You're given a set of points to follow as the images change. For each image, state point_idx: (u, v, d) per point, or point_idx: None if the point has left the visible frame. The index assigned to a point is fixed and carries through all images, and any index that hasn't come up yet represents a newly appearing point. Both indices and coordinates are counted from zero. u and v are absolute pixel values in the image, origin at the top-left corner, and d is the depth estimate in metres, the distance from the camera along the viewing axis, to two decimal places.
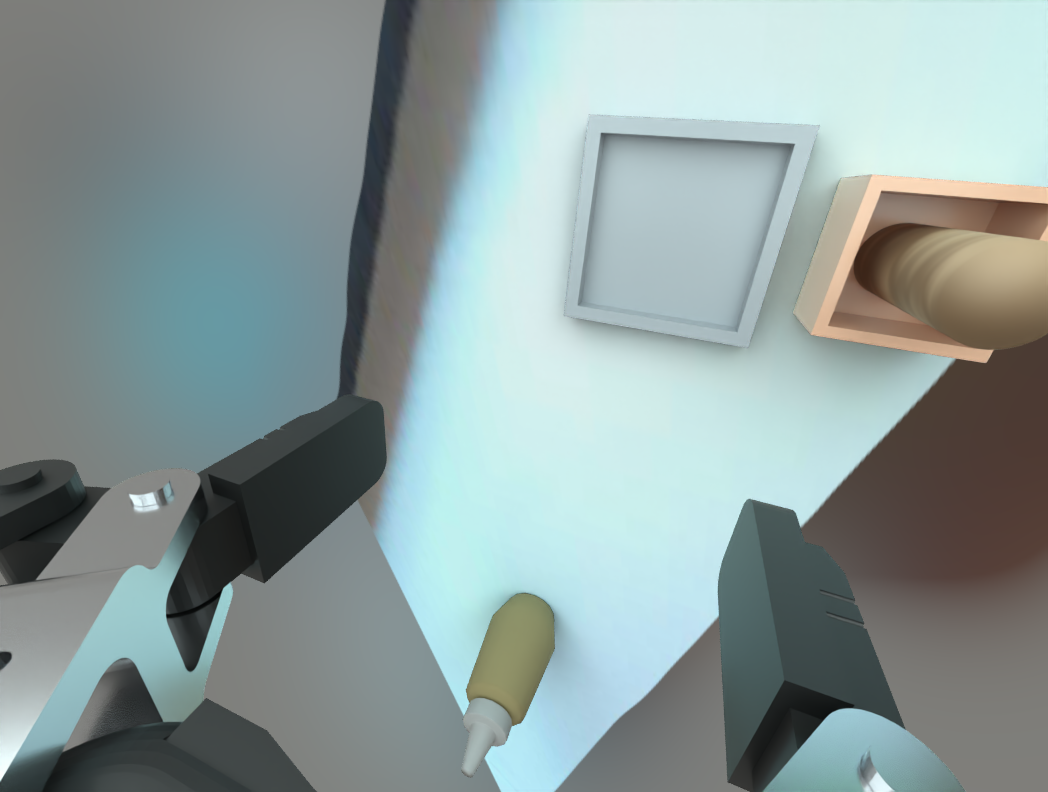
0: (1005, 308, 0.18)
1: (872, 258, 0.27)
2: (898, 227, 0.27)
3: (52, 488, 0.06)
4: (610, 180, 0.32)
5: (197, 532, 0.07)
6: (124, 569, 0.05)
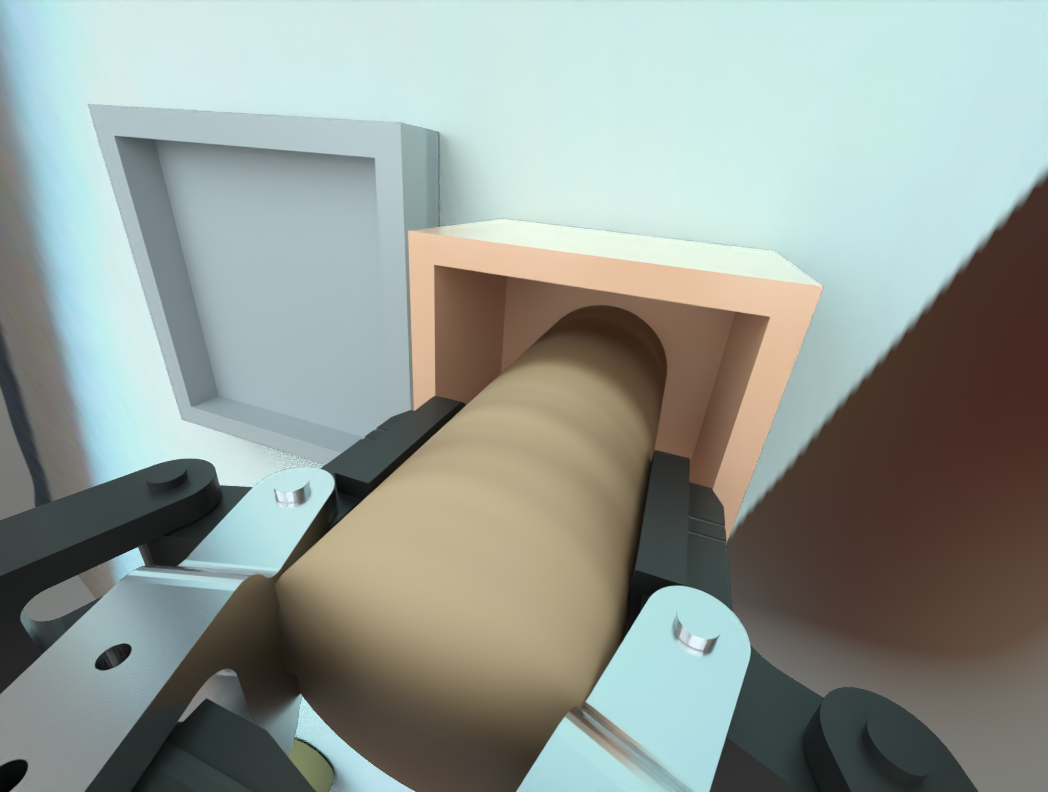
0: (425, 726, 0.06)
1: None
2: (567, 319, 0.14)
3: (198, 486, 0.07)
4: (187, 214, 0.20)
5: None
6: (243, 577, 0.05)
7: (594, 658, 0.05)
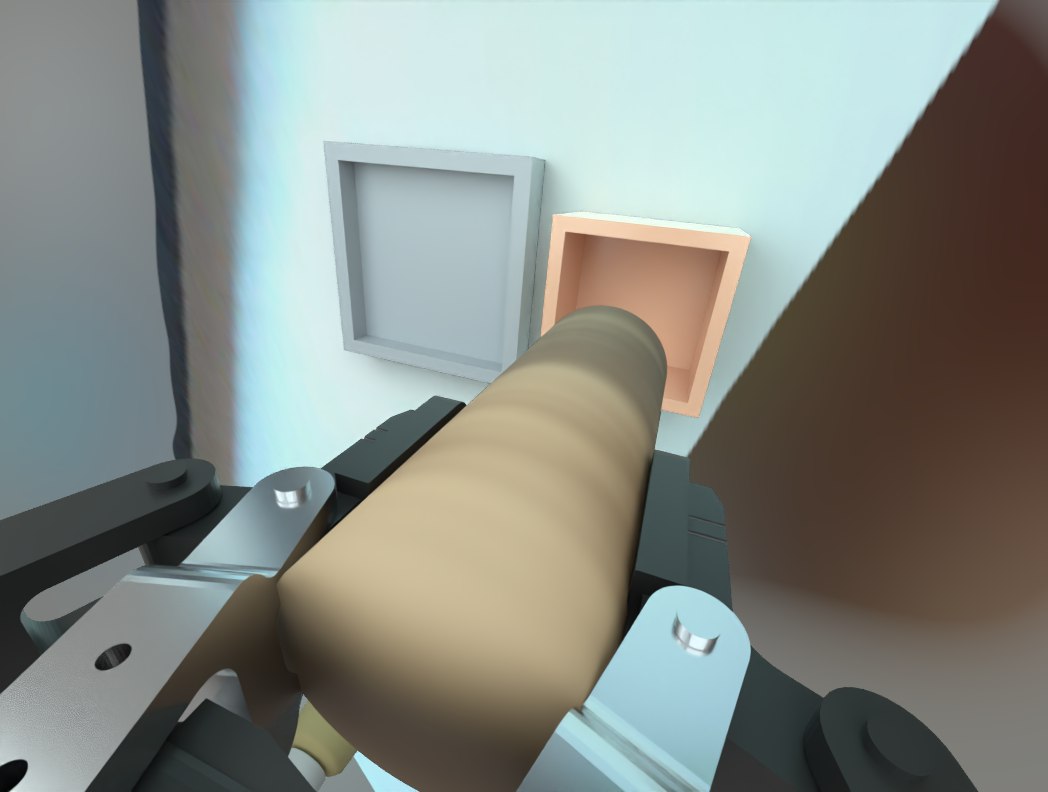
0: (425, 725, 0.06)
1: None
2: (567, 319, 0.14)
3: (198, 486, 0.07)
4: (368, 209, 0.30)
5: None
6: (243, 577, 0.05)
7: (595, 656, 0.05)
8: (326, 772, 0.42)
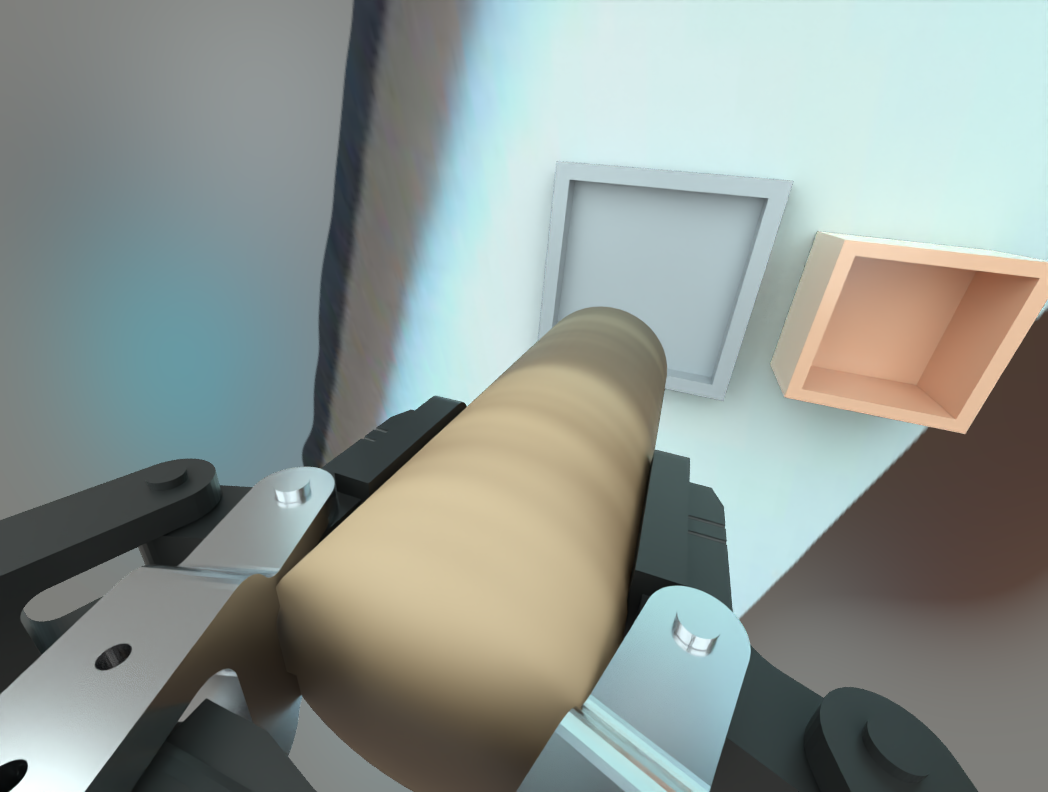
0: (425, 728, 0.06)
1: None
2: (567, 321, 0.14)
3: (199, 486, 0.07)
4: (581, 226, 0.31)
5: (333, 528, 0.07)
6: (243, 577, 0.05)
7: (593, 660, 0.05)
8: None
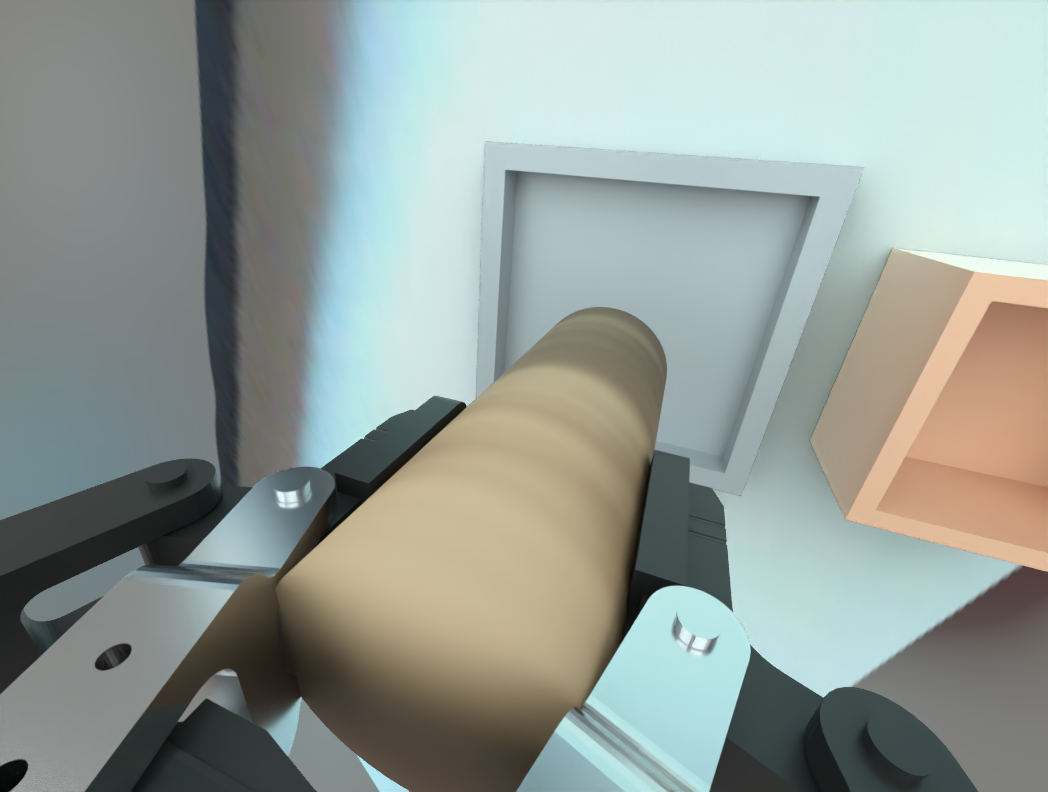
0: (424, 730, 0.06)
1: None
2: (567, 321, 0.14)
3: (199, 486, 0.07)
4: (530, 239, 0.21)
5: (333, 528, 0.07)
6: (243, 577, 0.05)
7: (592, 662, 0.05)
8: None
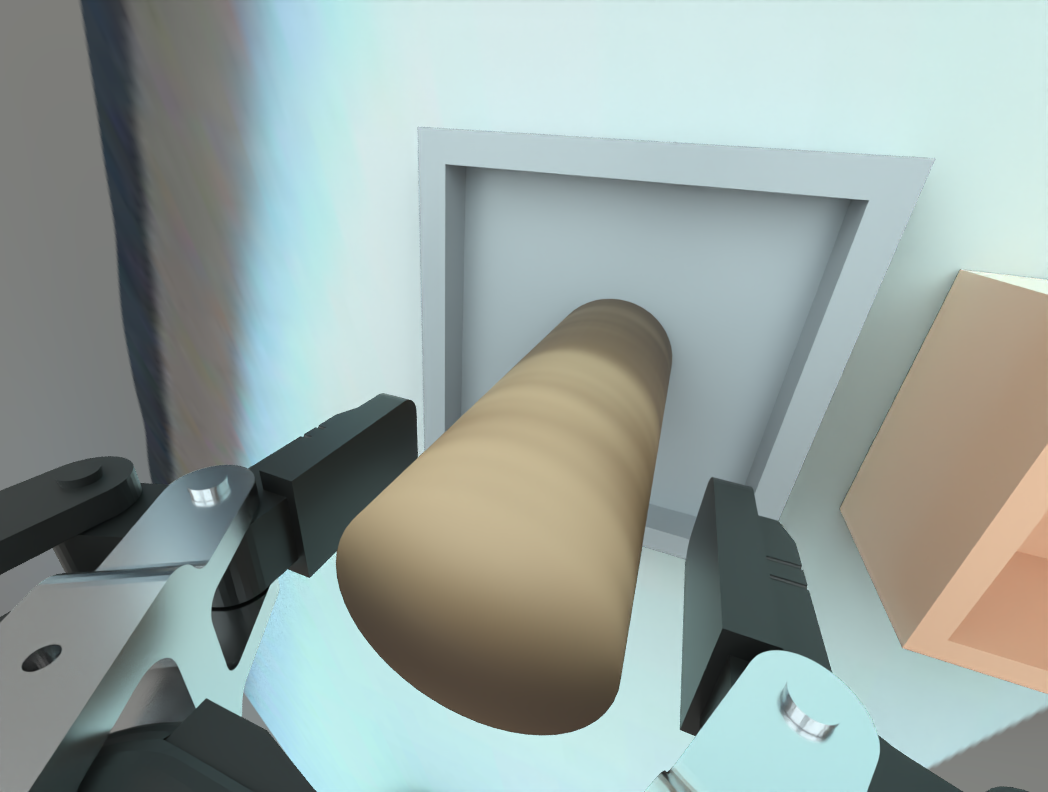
0: (469, 650, 0.07)
1: None
2: (578, 312, 0.15)
3: (113, 484, 0.07)
4: (485, 253, 0.17)
5: (252, 527, 0.07)
6: (173, 569, 0.05)
7: (614, 584, 0.06)
8: None
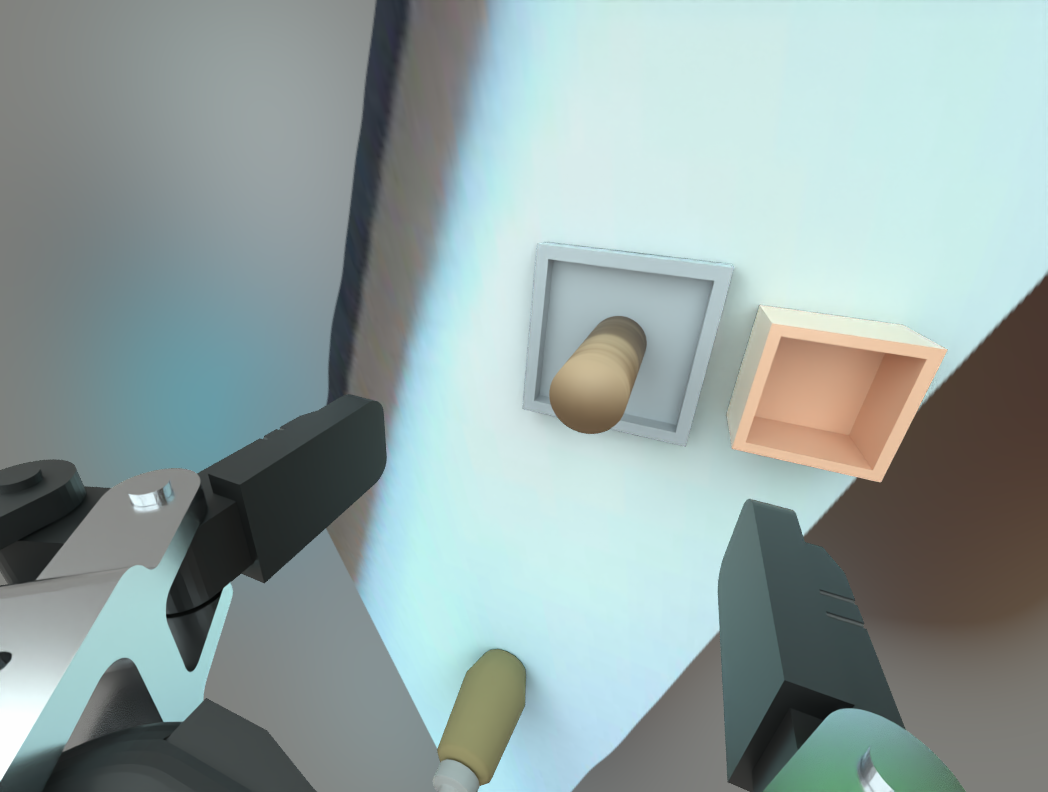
0: (587, 406, 0.26)
1: None
2: (605, 321, 0.34)
3: (52, 488, 0.06)
4: (560, 294, 0.36)
5: (197, 532, 0.07)
6: (124, 569, 0.05)
7: (624, 383, 0.25)
8: None
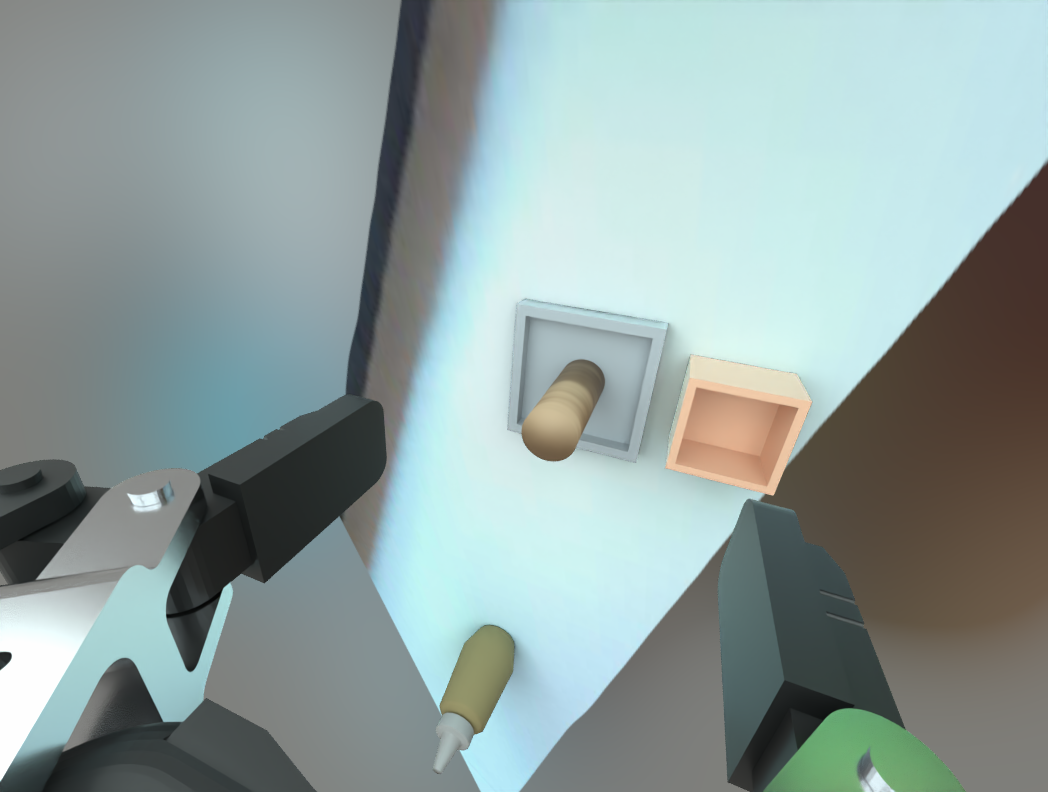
0: (549, 441, 0.35)
1: None
2: (571, 365, 0.43)
3: (52, 488, 0.06)
4: (536, 341, 0.45)
5: (197, 532, 0.07)
6: (124, 569, 0.05)
7: (575, 425, 0.34)
8: None
